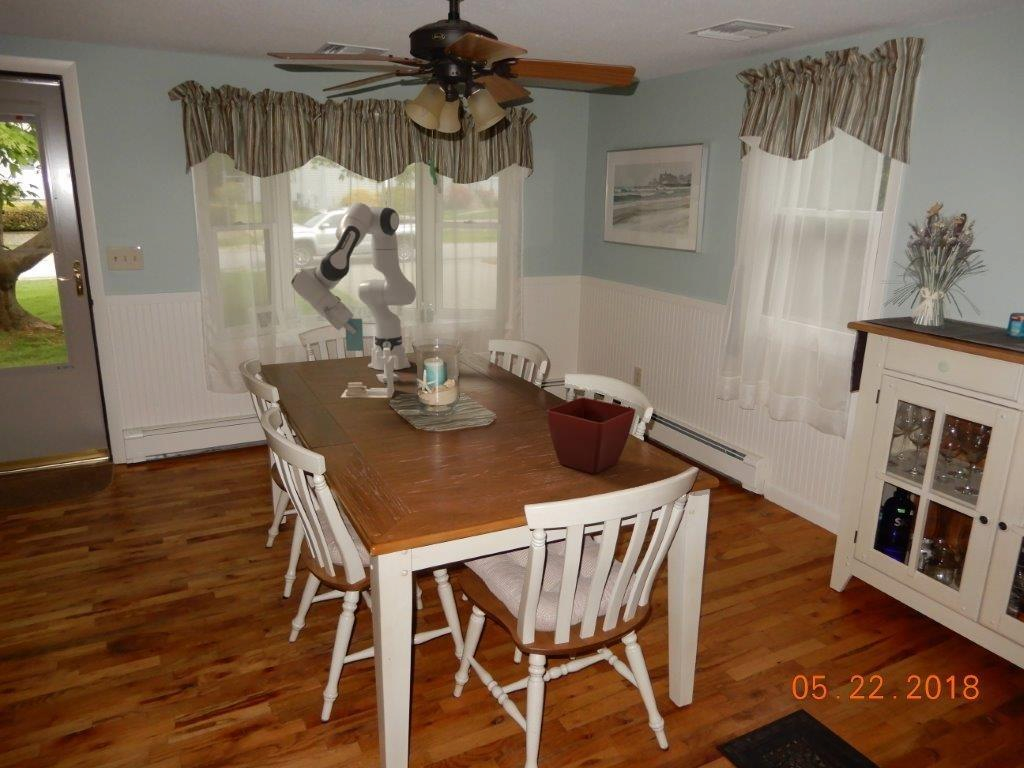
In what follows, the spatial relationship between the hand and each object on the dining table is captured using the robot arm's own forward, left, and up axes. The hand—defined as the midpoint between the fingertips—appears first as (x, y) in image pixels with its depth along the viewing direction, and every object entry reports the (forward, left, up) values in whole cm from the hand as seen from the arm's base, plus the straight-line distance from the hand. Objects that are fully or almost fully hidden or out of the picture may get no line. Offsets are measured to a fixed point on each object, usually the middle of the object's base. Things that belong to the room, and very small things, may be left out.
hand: (355, 331), depth 268 cm
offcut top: (+1, -1, -22) cm, 22 cm away
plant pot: (+70, +79, -25) cm, 108 cm away
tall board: (0, -1, -7) cm, 7 cm away
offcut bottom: (+1, -1, -24) cm, 24 cm away
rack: (+1, +4, -25) cm, 26 cm away
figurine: (-18, +9, -25) cm, 33 cm away
